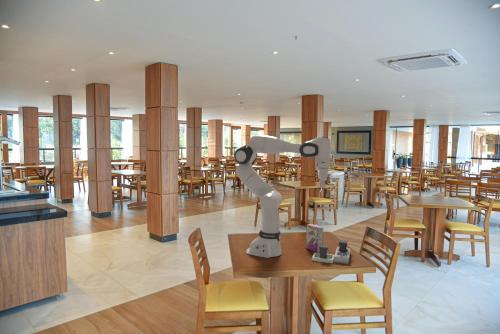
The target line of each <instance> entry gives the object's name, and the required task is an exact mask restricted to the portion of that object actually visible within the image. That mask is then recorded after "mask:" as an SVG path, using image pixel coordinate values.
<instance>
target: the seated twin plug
mask: <svg viewBox="0 0 500 334" xmlns="http://www.w3.org/2000/svg"><path fill="white" fill-rule="evenodd" d="M348 242H349V241H348V240H341V239H339V240H338V246H339V247H340V249H339V251H342V252H347V248H348Z"/></svg>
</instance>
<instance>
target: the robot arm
mask: <svg viewBox="0 0 500 334" xmlns="http://www.w3.org/2000/svg"><path fill="white" fill-rule="evenodd" d="M331 143H332V142H331V139H330V138H328V137H326V136H321V135H318V136H317V137H315V138H313V139H311V140H308V141H305V142H303V143H302V142H301V143H300V142H289V141H287V140H283V139H281V138H278V137H276V136H271V135H260V134H259V135H253V136H251V137H250V138H249V141H248V144H245V145H243V146H240V147H238V148H237V149H236V150H235V152H234V154H233V158H234V160H235V162H236V163H237V164H238V165H237V167H236V169H235V174H236V175H237V177H238V179H239V180H240V181H241V182H242V184H244V186H245V187H246V188H247V189H248V190H249V191H250V193H252V194H253V195H255V196H256V197H257V198H259V199H260V200H259V207H260V212H261V222H262V223H261V229H260V230H259V232H258V236H257V237H256V238H254V239H253V240H252V241H251V243H250V245H249V247H248V248H247V249H246V250H245V251H246V252H245V253H246V255H251V256H255V257H261V258H267V259H269V258H272V257H279V256H282V255H283V253H282V248H281V236H282V235H281V229H280V228H281V227H280V226H281V219H280V213H279V207H280V206H281V204H282V201H283V196H282V194H281V193H280V192H279V191H278V190H276V188H274V187H273V186H272V185H271V184H269V183H268V182H267V181H265V179H264V178H263V177H262V176H261V175H260V174H259V173H258V172H257V171H256V170H255V169H254V168H253V165H254V164H255V161H256V160H257V157H258V154H267V155H276V154H282V153H293V154H294V153H295V154H300V155H301V156H302V157H303V158H305V159H312V158H314V159H315V161H314V167H316V169H317V170H318V179H319V185H320V187H321V189H325V184H326V181H327V180H328V175H329V168H331V161H332V160H331V159H332V158H331V152H332V145H331Z"/></svg>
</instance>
